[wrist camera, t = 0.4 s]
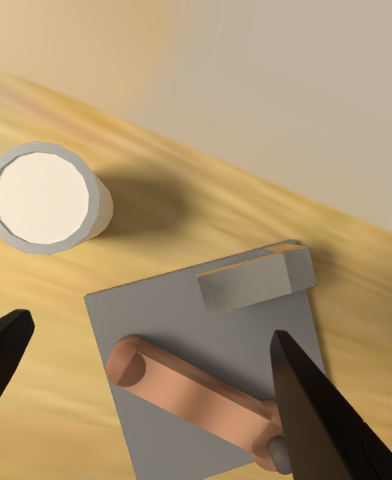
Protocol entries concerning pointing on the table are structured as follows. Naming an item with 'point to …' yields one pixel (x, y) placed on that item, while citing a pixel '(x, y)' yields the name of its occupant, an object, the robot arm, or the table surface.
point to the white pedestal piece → (50, 199)
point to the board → (194, 360)
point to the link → (200, 400)
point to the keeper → (257, 279)
